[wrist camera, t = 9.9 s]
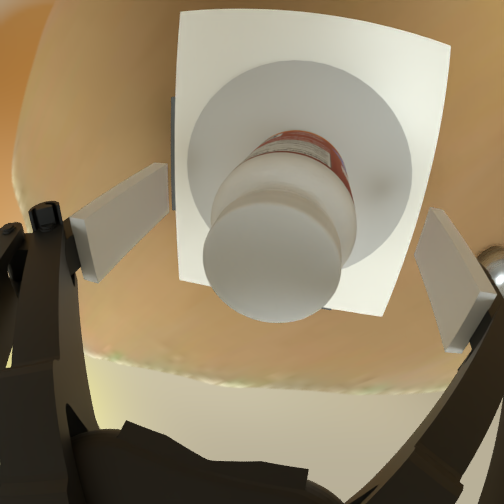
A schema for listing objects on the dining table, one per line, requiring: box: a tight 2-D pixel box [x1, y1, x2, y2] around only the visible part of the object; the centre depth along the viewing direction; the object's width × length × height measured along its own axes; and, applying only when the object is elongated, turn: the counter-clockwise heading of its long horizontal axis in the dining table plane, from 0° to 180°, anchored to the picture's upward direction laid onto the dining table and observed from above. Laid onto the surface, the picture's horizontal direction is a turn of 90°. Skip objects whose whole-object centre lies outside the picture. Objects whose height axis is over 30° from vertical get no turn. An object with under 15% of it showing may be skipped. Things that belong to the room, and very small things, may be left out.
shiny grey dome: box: [477, 246, 504, 298], centre depth 22 cm, size 5×5×3 cm
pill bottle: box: [203, 130, 357, 323], centre depth 15 cm, size 6×6×11 cm
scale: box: [171, 9, 451, 317], centre depth 22 cm, size 22×18×4 cm
